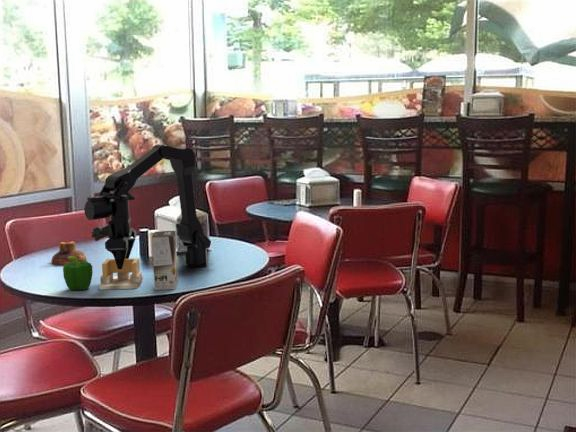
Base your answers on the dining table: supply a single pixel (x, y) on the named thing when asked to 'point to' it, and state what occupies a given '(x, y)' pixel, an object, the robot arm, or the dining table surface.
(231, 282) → the dining table surface
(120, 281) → the cream flat studded block
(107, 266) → the orange bridge block
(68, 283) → the bell pepper
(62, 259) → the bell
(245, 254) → the dining table surface
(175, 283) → the coffee box
